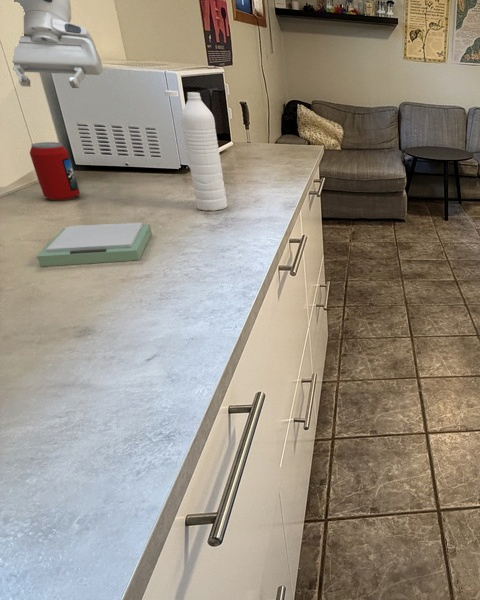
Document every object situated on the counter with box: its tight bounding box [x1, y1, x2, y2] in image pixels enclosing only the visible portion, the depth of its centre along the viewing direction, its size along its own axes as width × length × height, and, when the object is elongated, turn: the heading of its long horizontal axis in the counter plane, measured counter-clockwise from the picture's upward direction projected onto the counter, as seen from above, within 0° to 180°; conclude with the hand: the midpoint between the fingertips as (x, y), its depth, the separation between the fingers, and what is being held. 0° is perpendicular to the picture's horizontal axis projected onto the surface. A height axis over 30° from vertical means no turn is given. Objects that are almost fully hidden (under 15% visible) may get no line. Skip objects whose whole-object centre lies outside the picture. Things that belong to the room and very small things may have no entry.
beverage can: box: [29, 141, 81, 201], centre depth 107 cm, size 7×7×12 cm
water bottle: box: [164, 89, 228, 212], centre depth 105 cm, size 9×6×25 cm
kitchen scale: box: [36, 222, 153, 268], centre depth 85 cm, size 14×14×2 cm
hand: (50, 85), depth 109 cm, fingers open, 8 cm apart
